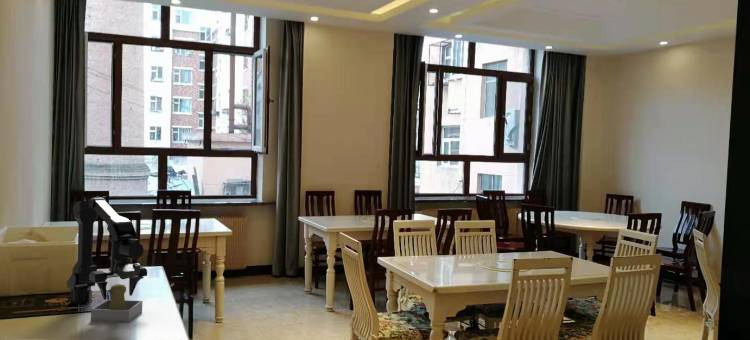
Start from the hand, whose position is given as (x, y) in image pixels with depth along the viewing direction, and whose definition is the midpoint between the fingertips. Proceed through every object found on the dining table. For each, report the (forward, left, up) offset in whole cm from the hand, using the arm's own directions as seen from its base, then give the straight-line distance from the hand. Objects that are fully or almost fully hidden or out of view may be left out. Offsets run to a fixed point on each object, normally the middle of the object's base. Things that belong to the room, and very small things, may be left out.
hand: (118, 297), depth 199 cm
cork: (0, 0, -7) cm, 7 cm away
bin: (0, 0, -7) cm, 7 cm away
